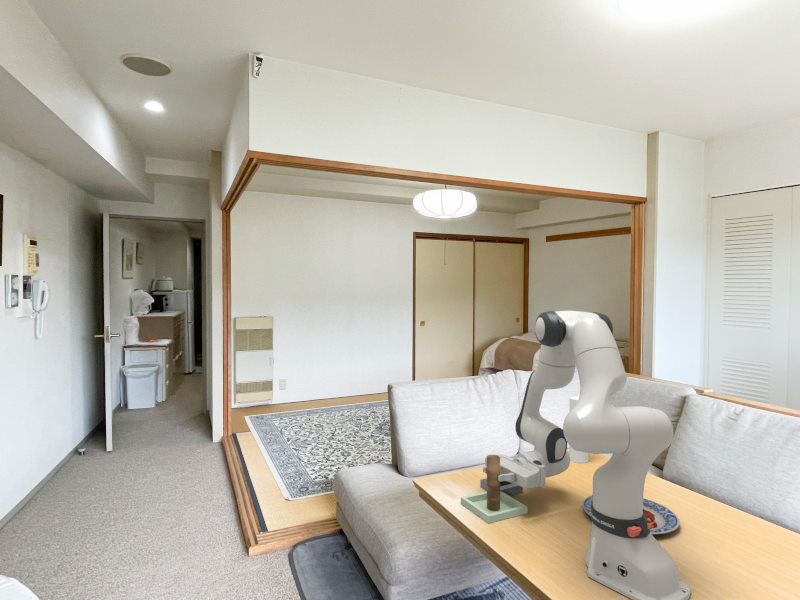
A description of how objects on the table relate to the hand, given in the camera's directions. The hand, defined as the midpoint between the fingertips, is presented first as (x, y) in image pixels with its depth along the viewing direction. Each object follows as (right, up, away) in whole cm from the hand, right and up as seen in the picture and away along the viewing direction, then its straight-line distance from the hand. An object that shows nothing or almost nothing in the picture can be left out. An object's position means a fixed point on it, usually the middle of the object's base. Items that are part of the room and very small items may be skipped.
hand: (491, 474), depth 142 cm
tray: (+1, -11, 0) cm, 11 cm away
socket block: (+6, -11, +14) cm, 19 cm away
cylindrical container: (+44, -11, +44) cm, 63 cm away
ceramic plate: (+40, -12, -5) cm, 42 cm away
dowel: (+1, -10, 0) cm, 10 cm away
